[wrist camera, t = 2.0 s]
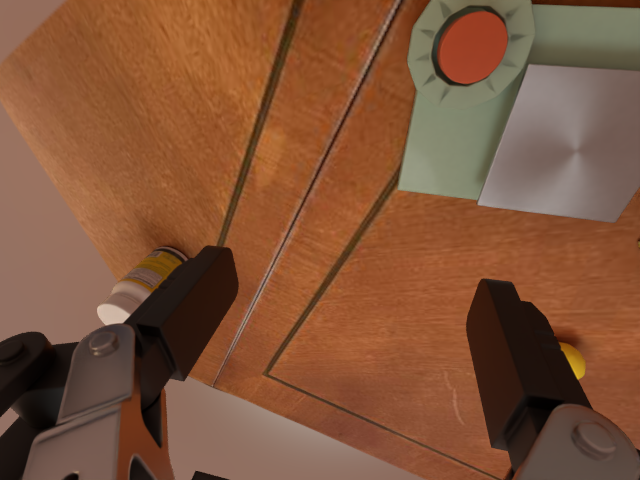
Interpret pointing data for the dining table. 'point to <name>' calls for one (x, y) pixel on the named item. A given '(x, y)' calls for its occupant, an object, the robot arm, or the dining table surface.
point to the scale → (496, 83)
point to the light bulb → (574, 359)
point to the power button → (472, 47)
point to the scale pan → (569, 144)
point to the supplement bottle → (139, 284)
